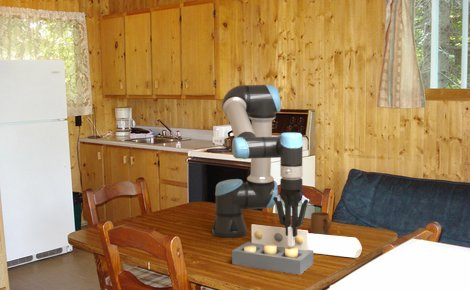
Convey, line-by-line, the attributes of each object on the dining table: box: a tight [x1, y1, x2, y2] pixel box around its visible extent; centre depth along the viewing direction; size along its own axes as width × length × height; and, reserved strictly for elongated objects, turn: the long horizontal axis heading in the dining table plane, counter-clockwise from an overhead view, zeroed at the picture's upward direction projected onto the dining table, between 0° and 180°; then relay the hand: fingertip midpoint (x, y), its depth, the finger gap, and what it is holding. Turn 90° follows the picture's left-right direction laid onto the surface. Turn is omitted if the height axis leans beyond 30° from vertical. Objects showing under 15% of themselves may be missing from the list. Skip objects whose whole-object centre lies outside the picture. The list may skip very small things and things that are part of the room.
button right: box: [285, 247, 298, 258], centre depth 187 cm, size 4×4×4 cm
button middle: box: [264, 244, 277, 255], centre depth 190 cm, size 4×4×4 cm
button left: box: [244, 245, 256, 252], centre depth 194 cm, size 4×4×4 cm
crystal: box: [308, 232, 363, 259], centre depth 204 cm, size 7×7×24 cm
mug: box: [310, 211, 332, 235], centre depth 228 cm, size 12×8×9 cm, turn 21°
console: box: [231, 223, 314, 276], centre depth 192 cm, size 26×13×12 cm, turn 62°
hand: (291, 245), depth 186 cm, fingers closed
